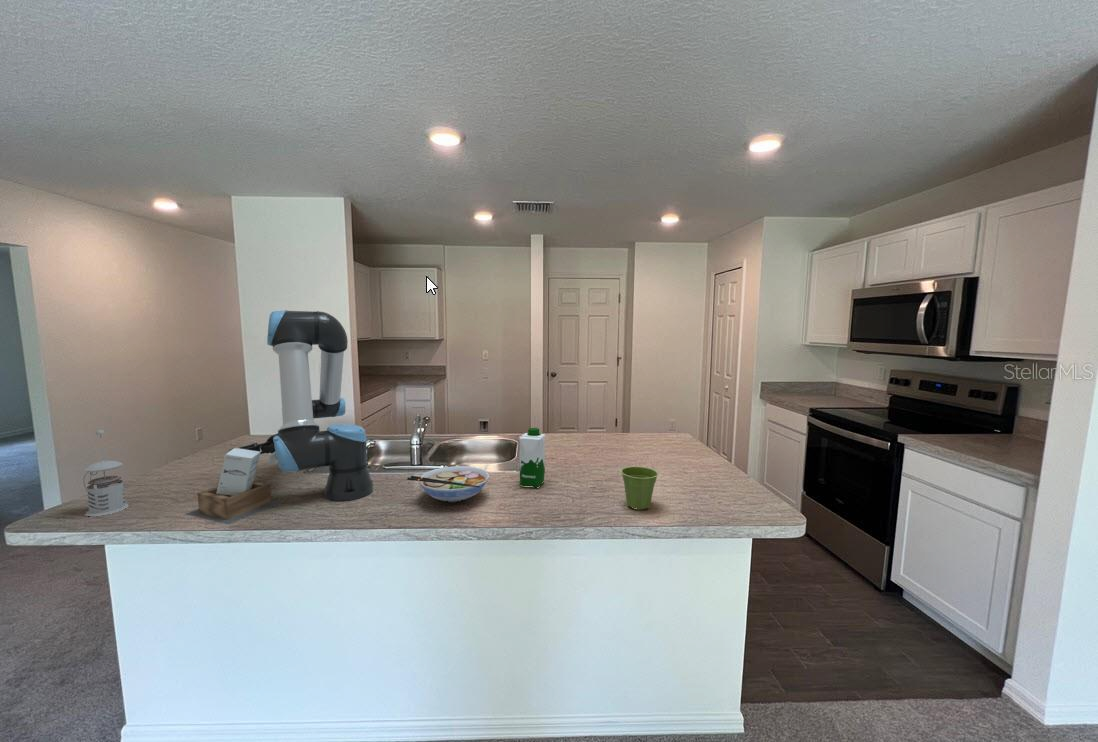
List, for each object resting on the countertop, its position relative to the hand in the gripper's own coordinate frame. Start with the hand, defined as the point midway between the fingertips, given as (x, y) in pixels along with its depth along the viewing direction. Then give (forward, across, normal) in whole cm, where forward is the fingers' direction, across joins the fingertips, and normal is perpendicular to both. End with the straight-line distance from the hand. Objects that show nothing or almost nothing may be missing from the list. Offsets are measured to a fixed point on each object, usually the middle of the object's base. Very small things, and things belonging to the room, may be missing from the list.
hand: (247, 459), depth 139 cm
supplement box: (+7, 0, -8) cm, 11 cm away
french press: (+5, +39, -14) cm, 42 cm away
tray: (+7, 0, -13) cm, 15 cm away
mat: (+7, 0, -13) cm, 15 cm away
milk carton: (-7, -92, -13) cm, 94 cm away
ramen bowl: (+4, -66, -14) cm, 68 cm away
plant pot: (+14, -125, -13) cm, 127 cm away
